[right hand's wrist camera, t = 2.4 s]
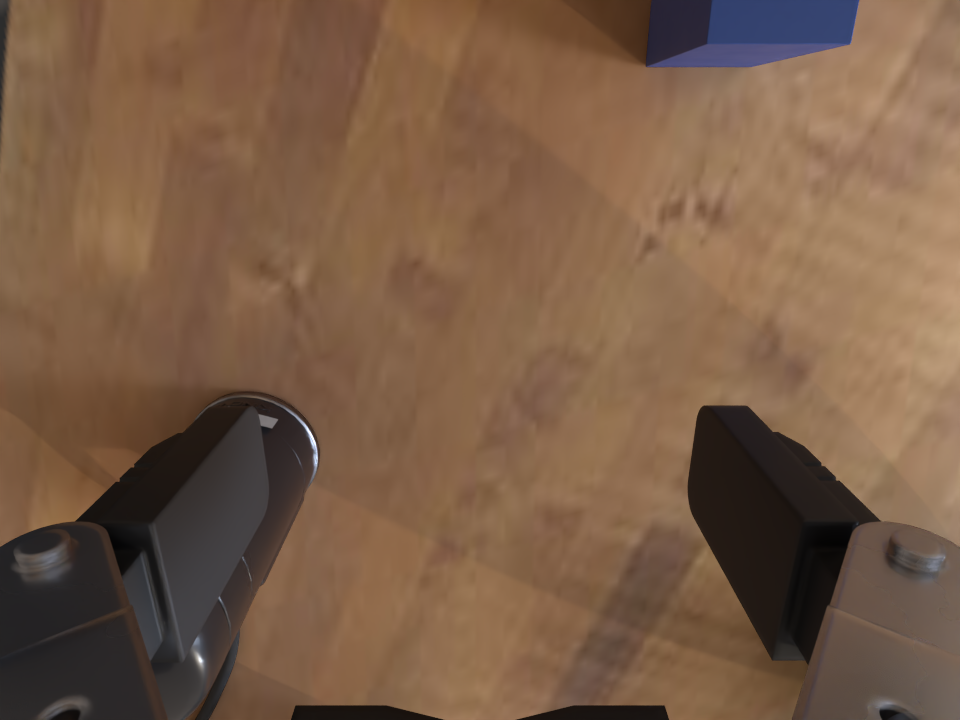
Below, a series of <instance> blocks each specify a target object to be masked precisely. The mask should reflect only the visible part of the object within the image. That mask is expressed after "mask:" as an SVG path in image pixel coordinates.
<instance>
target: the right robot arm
mask: <svg viewBox="0 0 960 720" xmlns="http://www.w3.org/2000/svg"><path fill="white" fill-rule="evenodd" d="M319 458H320V452H319V444H318V441H317V438H316V435H315V433H314V431H313V429H312V427H311V425H310V424H309V422H308V421H307V420H306V419H305V417H304V416H303V415H302V414H301V413H300V412H299V411H297V410H296V409H295V408H294V407H292V406H291V405H290V404H288V403H286V402H285V401H283V400H281V399H279V398H276V397H274V396H271V395H267V394H263V393H258V392H238V393H232V394H228V395H225V396H223V397H220V398H218V399H216V400H215V401H213V402H212V403H210V404H209V405H208V406H207V407H206V408H205V409H204V410H203V411H202V412H201V413H200V414H199V415H198V416H197V417H196V419H195V420H194V422H193V423H192V424H191V425H190V426H189V427H188V428H187V429H186V430H185V431H184V432H183V433H177V434H176V435H174V436H172V437H170V438H168V439H166V440H164V441H163V442H161V443H159V444H157V445H155V446H153V447H152V448H151V449H149V450H148V451H147V452H146V453H145V454H144V455H143V456H142V457H141V458H140V459H139V460H138V461H137V462H136V463H135V464H134V468H130V469H129V470H128V471H127V472H126V473H125V474H124V475H123V476H122V477H121V478H120V482H115V483H114V484H113V485H112V486H111V487H110V488H109V489H108V490H107V491H106V492H105V493H104V494H103V495H102V496H101V497H100V498H99V499H98V500H97V501H96V502H95V503H94V504H93V505H92V506H91V507H90V508H89V509H88V510H87V511H86V512H84V513H83V514H82V515H81V516H80V517H79V518H78V519H77V520H76V521H75V522H66V523H60V524H55V525H50V526H47V527H43V528H40V529H37V530H34V531H31V532H29V533H26V534H24V535H21V536H19V537H17V538H15V539H13V540H11V541H9V542H8V543H6V544H4V545H3V546H1V547H0V720H185V719H187V718H188V717H189V716H190V715H191V714H192V713H193V712H194V711H195V710H196V709H197V708H198V706H199V705H200V704H201V703H202V702H203V700H204V699H205V697H206V696H207V694H208V692H209V690H210V689H211V690H210V692H209V695H208V697H207V699H206V701H205V703H204V705H203V707H202V709H201V711H200V713H199V714H198V716H197V718H196V719H195V720H208V719H209V718H210V716H211V714H212V712H213V711H214V709H215V707H216V705H217V703H218V700H219V698H220V696H221V694H222V692H223V690H224V687H225V685H226V683H227V681H228V678H229V676H230V674H231V671H232V668H233V665H234V662H235V659H236V655H237V650H238V644H239V633H240V627H241V625H242V623H243V621H244V618H245V616H246V614H247V612H248V610H249V607H250V605H251V603H252V601H253V599H254V597H255V595H256V593H257V591H258V589H259V587H260V586H261V585H263V584H264V582H265V581H266V579H267V577H268V575H269V573H270V570H271V568H272V566H273V564H274V562H275V560H276V558H277V556H278V554H279V552H280V549H281V547H282V545H283V543H284V541H285V539H286V537H287V535H288V533H289V530H290V528H291V526H292V524H293V522H294V520H295V518H296V516H297V514H298V511H299V509H300V507H301V505H302V503H303V501H304V494H305V492H306V490H307V488H308V487H309V486H310V484H311V482H312V481H313V479H314V476H315V474H316V472H317V469H318V465H319ZM688 499H689V505H690V509H691V512H692V515H693V517H694V519H695V521H696V523H697V524H698V526H699V528H700V530H701V532H702V534H703V535H704V537H705V539H706V541H707V543H708V544H709V546H710V548H711V550H712V552H713V554H714V555H715V557H716V559H717V561H718V563H719V564H720V566H721V568H722V570H723V572H724V574H725V575H726V577H727V579H728V581H729V583H730V584H731V586H732V588H733V590H734V592H735V594H736V595H737V597H738V599H739V601H740V603H741V604H742V606H743V608H744V610H745V612H746V614H747V615H748V617H749V619H750V621H751V623H752V624H753V626H754V628H755V630H756V632H757V633H758V635H759V637H760V639H761V641H762V643H763V644H764V646H765V648H766V650H767V652H768V653H769V655H770V657H771V659H772V660H805V661H806V662H807V664H808V665H809V666H808V669H807V672H806V676H805V679H804V682H803V685H802V688H801V692H800V695H799V698H798V701H797V704H796V708H795V711H794V714H793V717H792V720H960V547H959V546H957V545H956V544H954V543H952V542H951V541H949V540H947V539H945V538H943V537H941V536H939V535H936V534H934V533H931V532H929V531H926V530H923V529H920V528H917V527H913V526H910V525H905V524H900V523H894V522H881V521H880V520H879V519H878V518H877V517H876V516H875V515H874V514H873V513H872V512H871V511H870V510H869V509H868V508H867V507H866V506H865V505H864V504H863V503H862V502H861V501H860V500H859V499H858V498H857V497H856V496H855V495H854V494H853V493H852V492H850V491H849V490H848V489H847V488H846V487H845V486H844V485H843V484H842V483H841V482H840V481H836V477H835V476H834V475H833V474H832V473H831V472H830V471H829V470H828V469H827V468H826V467H825V466H821V462H820V461H819V460H818V459H817V458H816V457H815V456H814V455H813V454H812V453H811V452H810V451H809V450H808V449H807V448H805V447H804V446H803V445H801V444H799V443H797V442H795V441H794V440H792V439H790V438H788V437H786V436H784V435H782V434H781V433H779V432H772V431H771V430H770V429H769V428H768V426H767V425H766V424H765V423H764V422H763V421H762V420H761V419H760V418H759V417H758V416H757V415H756V414H755V413H754V412H753V411H752V410H751V409H750V408H749V407H748V406H702V407H701V409H700V410H699V413H698V416H697V421H696V428H695V435H694V442H693V449H692V456H691V464H690V471H689V478H688ZM212 685H213V686H212ZM211 687H212V688H211ZM291 720H443V719H439V718H435V717H431V716H427V715H423V714H418V713H414V712H410V711H406V710H402V709H398V708H394V707H390V706H295V709H294V712H293V715H292V718H291ZM517 720H669V718H668V715H667V712H666V709H665V706H570V707H566V708H562V709H558V710H554V711H550V712H546V713H542V714H537V715H533V716H529V717H525V718H521V719H517Z"/></svg>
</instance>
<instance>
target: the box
mask: <svg viewBox="0 0 960 720" xmlns="http://www.w3.org/2000/svg"><path fill="white" fill-rule="evenodd" d="M858 3H859V0H651V12H650V23H649V35H648V46H647V58H646V67H753V66H757V65H762V64H766V63H771V62H775V61H779V60H784V59H788V58H792V57H797V56H801V55H805V54H810V53H814V52H819V51H823V50H827V49H832V48H836V47H840V46H845V45H849V44H851V40H852V35H853V29H854V24H855V19H856V14H857V9H858Z"/></svg>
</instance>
